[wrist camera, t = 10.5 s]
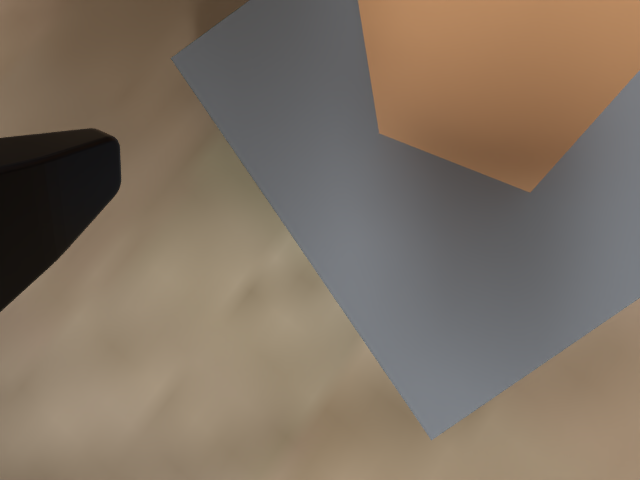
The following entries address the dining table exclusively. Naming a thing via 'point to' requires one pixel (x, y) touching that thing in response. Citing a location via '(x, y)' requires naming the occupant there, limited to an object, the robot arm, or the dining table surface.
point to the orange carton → (497, 76)
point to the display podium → (421, 210)
